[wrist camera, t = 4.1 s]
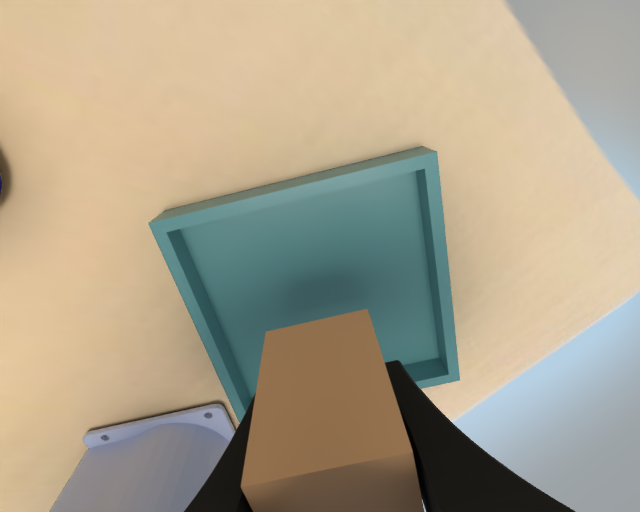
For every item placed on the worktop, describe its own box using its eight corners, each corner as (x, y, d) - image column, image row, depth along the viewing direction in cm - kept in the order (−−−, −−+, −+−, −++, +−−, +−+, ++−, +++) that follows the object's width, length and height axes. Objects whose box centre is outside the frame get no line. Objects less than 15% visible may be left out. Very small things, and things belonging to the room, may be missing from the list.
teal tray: (246, 401, 23) (241, 427, 21) (164, 211, 18) (148, 223, 16) (447, 357, 22) (459, 380, 21) (422, 146, 17) (437, 151, 15)
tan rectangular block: (292, 406, 15) (287, 579, 10) (265, 331, 14) (240, 487, 8) (384, 387, 15) (432, 552, 9) (367, 308, 13) (412, 451, 8)
